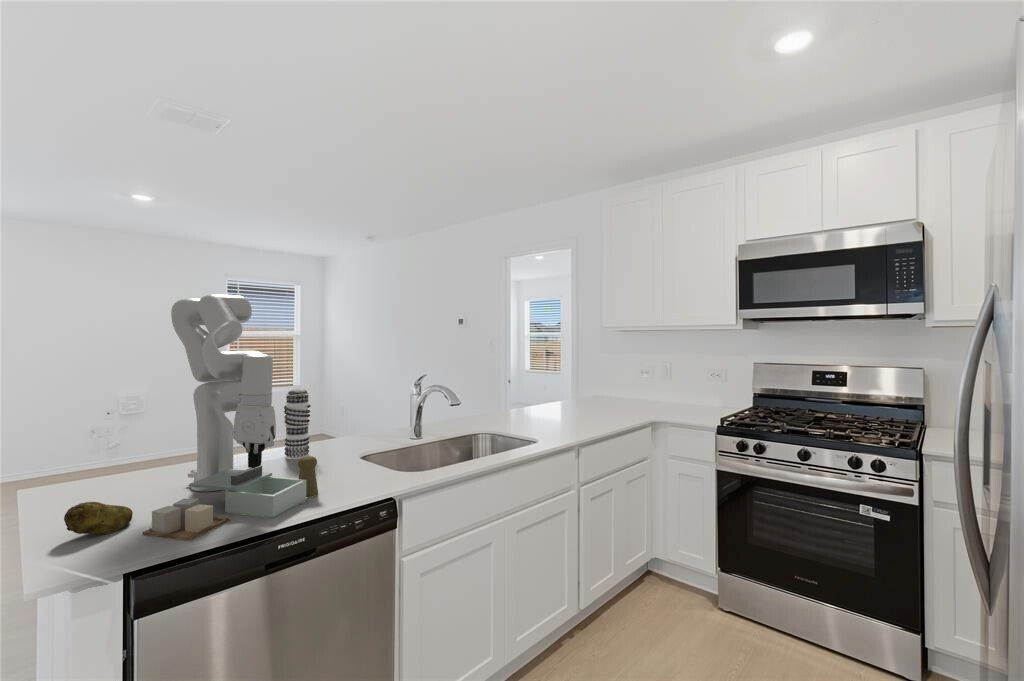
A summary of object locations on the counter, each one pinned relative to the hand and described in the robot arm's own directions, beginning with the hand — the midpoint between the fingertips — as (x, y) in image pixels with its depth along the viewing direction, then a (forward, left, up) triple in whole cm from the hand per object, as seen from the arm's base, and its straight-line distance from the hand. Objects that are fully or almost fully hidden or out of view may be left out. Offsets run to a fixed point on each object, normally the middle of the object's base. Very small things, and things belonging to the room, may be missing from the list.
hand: (254, 466), depth 136 cm
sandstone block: (-1, -17, -10) cm, 20 cm away
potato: (-21, -24, -11) cm, 34 cm away
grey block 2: (-7, -15, -10) cm, 19 cm away
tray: (-4, -17, -11) cm, 21 cm away
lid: (-6, 0, -4) cm, 8 cm away
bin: (+4, 0, -11) cm, 12 cm away
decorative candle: (-20, +48, -11) cm, 53 cm away
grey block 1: (-7, -20, -10) cm, 24 cm away
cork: (+8, +12, -11) cm, 18 cm away
